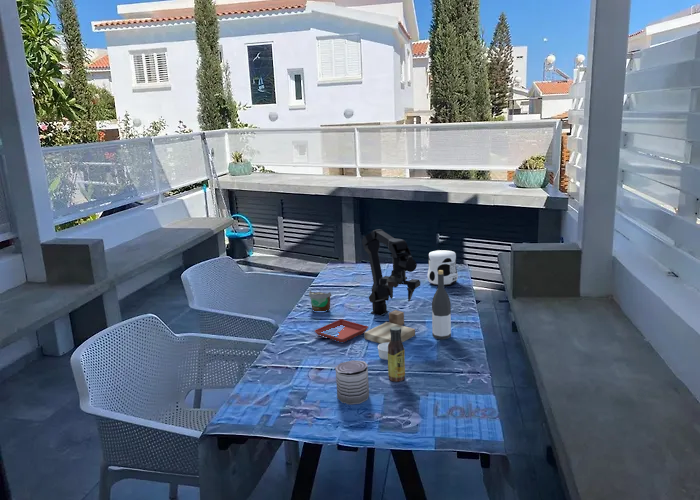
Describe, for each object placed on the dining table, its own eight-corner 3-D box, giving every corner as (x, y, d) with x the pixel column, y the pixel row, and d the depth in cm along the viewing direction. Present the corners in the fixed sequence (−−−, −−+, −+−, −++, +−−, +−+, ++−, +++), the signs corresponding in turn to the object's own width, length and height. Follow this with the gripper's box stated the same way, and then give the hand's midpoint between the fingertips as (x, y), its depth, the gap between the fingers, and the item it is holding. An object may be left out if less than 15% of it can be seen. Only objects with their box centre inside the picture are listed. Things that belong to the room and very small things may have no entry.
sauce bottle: (400, 384, 200) (398, 333, 196) (385, 380, 204) (383, 330, 199) (408, 376, 206) (406, 326, 201) (393, 373, 209) (391, 324, 205)
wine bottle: (450, 339, 237) (450, 273, 231) (431, 339, 239) (430, 273, 232) (451, 332, 245) (450, 268, 238) (432, 332, 247) (431, 268, 240)
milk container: (427, 279, 328) (426, 250, 324) (457, 279, 325) (456, 249, 321) (427, 288, 311) (426, 257, 307) (458, 287, 309) (458, 256, 305)
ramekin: (387, 350, 231) (387, 340, 230) (404, 355, 225) (403, 345, 224) (373, 357, 225) (372, 347, 224) (389, 362, 219) (389, 352, 218)
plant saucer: (313, 337, 250) (313, 330, 249) (341, 325, 263) (340, 318, 262) (342, 346, 238) (342, 339, 237) (369, 333, 251) (369, 326, 250)
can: (344, 407, 186) (342, 375, 183) (332, 393, 196) (330, 362, 193) (374, 399, 190) (373, 367, 187) (361, 386, 200) (359, 355, 198)
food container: (305, 312, 282) (304, 293, 279) (310, 308, 287) (309, 290, 285) (327, 314, 277) (326, 295, 275) (332, 310, 283) (331, 291, 280)
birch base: (364, 338, 244) (364, 332, 243) (387, 327, 255) (386, 321, 254) (393, 347, 233) (392, 340, 232) (415, 335, 244) (415, 329, 244)
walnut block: (389, 325, 259) (388, 313, 257) (395, 321, 262) (395, 310, 261) (397, 327, 255) (397, 315, 254) (404, 324, 259) (403, 312, 257)
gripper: (372, 269, 251) (374, 302, 254) (409, 273, 241) (410, 307, 244) (384, 264, 260) (386, 295, 263) (420, 267, 250) (421, 300, 253)
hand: (400, 299), depth 256 cm, fingers open, 9 cm apart
